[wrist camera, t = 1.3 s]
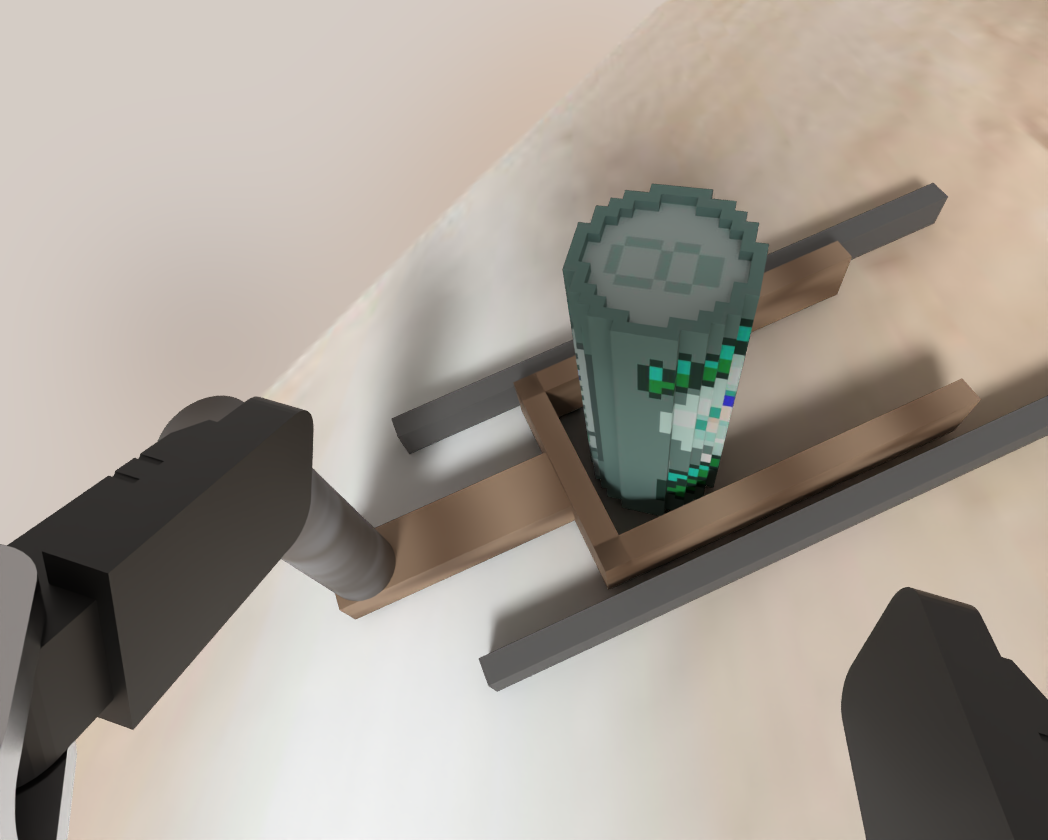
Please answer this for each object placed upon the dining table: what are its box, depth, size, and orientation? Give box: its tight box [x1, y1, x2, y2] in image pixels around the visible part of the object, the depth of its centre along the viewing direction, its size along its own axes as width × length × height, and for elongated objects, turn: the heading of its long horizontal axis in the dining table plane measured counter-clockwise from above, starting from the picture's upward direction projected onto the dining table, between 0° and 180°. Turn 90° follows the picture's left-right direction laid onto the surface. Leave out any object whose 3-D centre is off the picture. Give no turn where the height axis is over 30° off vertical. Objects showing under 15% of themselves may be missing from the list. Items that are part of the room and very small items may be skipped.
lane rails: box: [392, 183, 1048, 691], centre depth 34 cm, size 32×14×2 cm, turn 113°
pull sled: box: [158, 241, 981, 619], centre depth 28 cm, size 30×10×15 cm, turn 113°
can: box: [563, 184, 769, 516], centre depth 28 cm, size 6×6×15 cm
